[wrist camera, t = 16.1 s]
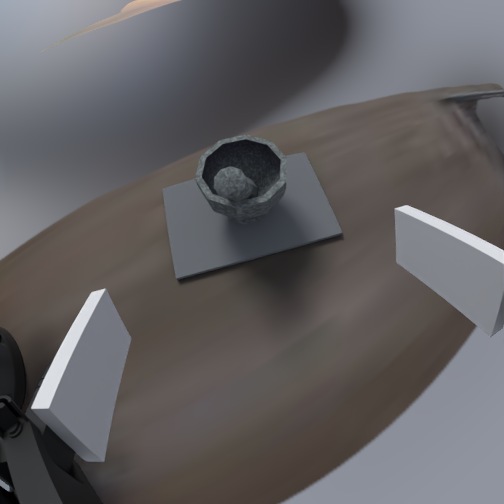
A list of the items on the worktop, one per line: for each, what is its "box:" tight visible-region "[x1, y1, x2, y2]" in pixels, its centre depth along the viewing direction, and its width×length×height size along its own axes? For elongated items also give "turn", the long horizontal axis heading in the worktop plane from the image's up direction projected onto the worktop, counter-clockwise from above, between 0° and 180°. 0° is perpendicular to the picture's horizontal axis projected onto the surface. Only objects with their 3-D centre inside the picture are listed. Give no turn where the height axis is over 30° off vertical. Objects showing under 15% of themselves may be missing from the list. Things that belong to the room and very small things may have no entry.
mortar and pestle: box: [195, 135, 287, 225], centre depth 30 cm, size 11×9×12 cm
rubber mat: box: [163, 152, 342, 280], centre depth 36 cm, size 20×13×1 cm, turn 105°
